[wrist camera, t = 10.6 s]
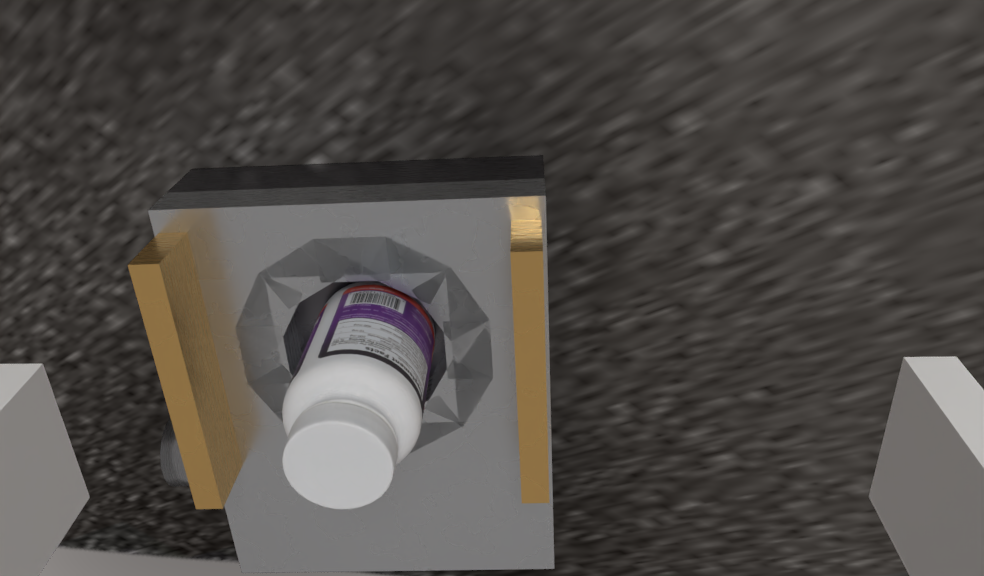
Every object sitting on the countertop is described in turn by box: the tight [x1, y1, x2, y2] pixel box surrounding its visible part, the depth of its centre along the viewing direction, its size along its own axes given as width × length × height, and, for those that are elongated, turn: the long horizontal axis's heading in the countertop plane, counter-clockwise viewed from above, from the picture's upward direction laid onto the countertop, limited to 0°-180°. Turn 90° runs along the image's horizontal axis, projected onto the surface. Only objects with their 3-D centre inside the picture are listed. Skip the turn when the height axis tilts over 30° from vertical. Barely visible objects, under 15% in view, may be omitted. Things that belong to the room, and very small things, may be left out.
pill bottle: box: [282, 281, 435, 509], centre depth 34 cm, size 5×5×10 cm
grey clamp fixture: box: [128, 155, 554, 573], centre depth 39 cm, size 20×19×8 cm
